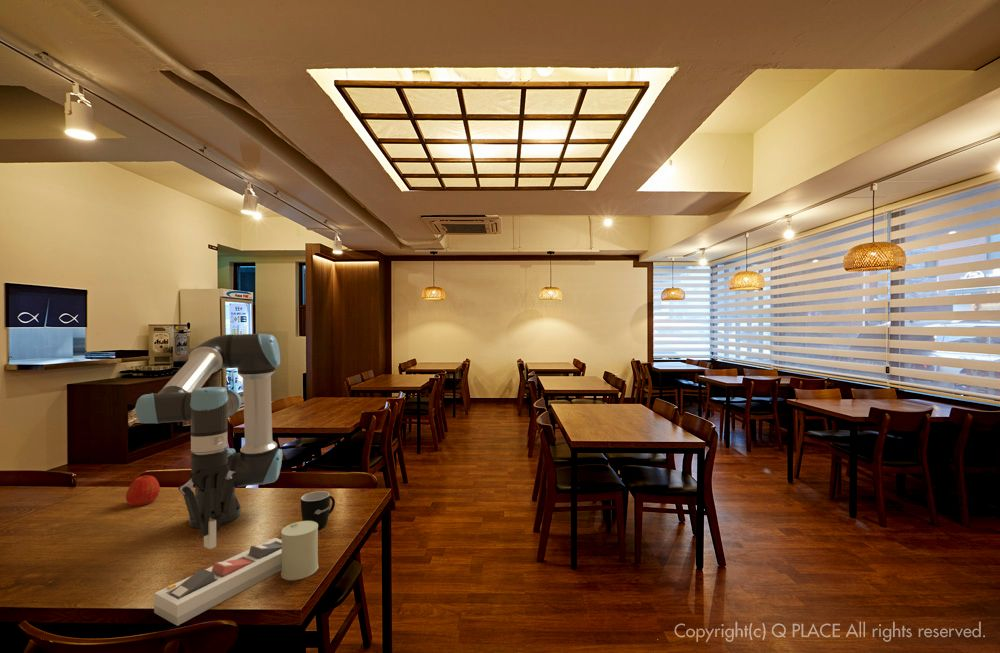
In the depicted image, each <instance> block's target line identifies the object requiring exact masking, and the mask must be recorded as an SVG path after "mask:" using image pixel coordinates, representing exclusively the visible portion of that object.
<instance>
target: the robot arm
mask: <svg viewBox="0 0 1000 653" xmlns="http://www.w3.org/2000/svg"><path fill="white" fill-rule="evenodd" d="M280 364H281V352H280V346H279V342H278V340H277V338H276V337H275V336H274V335H273V334H268V333H267V334H266V333H248V334H247V333H243V334H228V333H227V334H222V335H218V336H215V337H212V338H210V339H208V340H205V341H204V342H201V343H200V344H198V346H196V347H194V349H193V350H192V351H191V352H190V353H189V355H188V358H187V361H186V362H185V363H184V365H183V366H182V367H181V368H180V369H179V370H178V371H177V372H176V373H175V374H174V375H173V376H172V378H170V380H169V381H168V382H167V383H166V384H165V385H164V386H163V388H161V390H159V391H158V392H157V393H153V392H151V393H148V394H143V395H141V396H140V397H139V398H138V399H137V400H136V403H135V408H134V409H135V411H134V412H135V413H134V414H135V418H136V419H137V421H138V422H139V423H141V424H163V423H173V422H174V423H178V422H190V451H191V454H190V468H191V473H190V476H189V480H188V481H187V482H186V483H184V484H183V485H179V486H178V489H177V490H178V491H179V492H180V493H181V494H182V496H183V498H184V502H185V505H186V508H187V512H188V515H189V516H188V526H189V527H191V528H194V529H199V534H200V536H202V537H203V547H204V548H206V549H209V550H211V549H213V548H216V547H217V532H218V531H220V528H221V526H222V525H224V524H228V523H230V522H232V521H234V520H236V519H238V518H239V517H240V516H241V514H242V507H241V505H240V501H239V500H238V497H237V495H236V488H237V487H247V486H249V487H250V486H258V485H261V486H262V485H266V484H271V483H275V482H276V481H277V480H278V479H279V476H280V472H281V468H282V461H283V453H284V452H283V449H282V448H278V443H277V442H276V441H274V440H273V419H272V418H273V415H272V413H273V412H272V377H271V376H272V375H273V374H274V373H276V368H277V367H279V366H280ZM220 369H237V375H239V376H240V377H241V378H242V390H243V391H242V393H243V395H242V396H243V401H242V397H241V395H240V394H239V393H238V392H237V390H234V389H229V388H226V387H224V386H206V387H203V386H204V385H205V384H206V382H207V381H208V379H209V378H210V377H211V375H212V374H214V373H216V372H218V371H219V370H220ZM242 402H243V419H244V420H243V421H244V423H243V424H244V426H243V427H244V444H243V445H242V446H241V448H240V450H239V451H240V452H236V449H235V448H228V418H229V417H233V416H234V415H235V414H236V413H237V412H238V411H239V410H240V408H241V406H242Z"/></svg>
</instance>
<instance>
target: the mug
mask: <svg viewBox="0 0 1000 653" xmlns="http://www.w3.org/2000/svg"><path fill="white" fill-rule="evenodd" d="M330 504H331V505H330ZM330 506H331V507H330ZM335 506H336V501H335V498H334V497H333V496H331V493H330V492H329V491H325V490H318V491H312V492H308V493H305V494H303V495H302V496H301V497H300V510H301V518H302V521H314V522H316V523H317V524H318V530H320V529H321V530H322V529H323V528H324V527H325V526H326V525H327V524H328V521H329V516H330V514H332V512H333V510H334V509H335Z"/></svg>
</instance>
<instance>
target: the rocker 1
mask: <svg viewBox="0 0 1000 653" xmlns="http://www.w3.org/2000/svg"><path fill="white" fill-rule="evenodd" d="M190 576H191V577H190ZM190 576H189V577H190V578H189V579H187V580H186V581H185V582H183V583H182V584H181V585H179V586H178V587H177V588H175V589H174V590H173V591H171V592H170V593H169V595H170V596H172V597H174V598H176V599H180V598H182V597H184V596H186V595H188V594H190V593H192V592H194V591H196V590H198V589H201V588H203V587H205V586H207V585H208V584H209V583H211V582H212V581H213V580H214V579H215V577H214V575H213V573H212V572H210V571H207V570H205V569H204V568H201V569H199V570H198V571H197V572H195V573H193V576H192V575H190Z"/></svg>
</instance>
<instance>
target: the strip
mask: <svg viewBox="0 0 1000 653" xmlns="http://www.w3.org/2000/svg"><path fill="white" fill-rule="evenodd" d="M272 543H277V544H280V545H282V539H281V538H277V537H273V538H271V539H268V540H266V541H264V542H262V543H260V544H259V545H264V544H272ZM249 551H250V548H249V549H247V550H244V551H243V552H241V553H238V554H236V555H234V556H231V557H229V558H228V559H225V560H224V561H230V560H237V559H245V560H247V561H250V562H253V563H251V564H249V565H247V566H245V567H243V568H241V569H239V570H237V571H235V572H233V573H231V574H227V575H221V574H218V573H216V572H214V571H212V568H213V565H211V566H210V567H208V568H206V569H205V570H207V571H210V572H212V573H213V575H214V577H215V579H214V580H213V581H212V582H211V583H209V584H208V585H207V586H205V587H203V588H201V589H198V590H196V591H194V592H192V593H190V594H188V595H186V596H184V597H182V598H180V599H176V598H174V597H172V596H170V595H169V593H170V592H171V591H173V590H174V589H175V588H177V587H178V586H179V585H181V584H182V583H183V582H185V581H186V580H187V579H189V578H190V577H191V576H193V575H194V574H193V575H190V576H188V577H186V578H184V579H182V580H179V581H178V582H176V583H171V584H169V585H167V587H164V588H162V589H161V590H158V591H156V592H154V594H153V597H154V598H153V600H154V601H153V606H154V608H153V612H154V614H156V615H158V616H159V617H161V618H163V619H164V620H165V621H168V622H170V623H171V624H173V625H175V626H177V627H178V626H181V624H183V623H185V622H188V621H189V620H191V619H192V618H195V617H196V616H199V615H201V614H202V613H204V612H206V611H208V610H209V609H213V607H215V606H217V605H219V604H220V603H222V602H225V601H226V600H228V599H230V598H232V597H234V596H235V595H237V594H239V593H241V592H242V591H243V592H244V591H245V590H247V589H248V588H250V587H252V586H254V585H256V584H258V583H259V582H262V581H264V580H265V579H267V578H269V577H271V576H273V575H274V574H277V573H278V572H280V571H282V549H280V550H278V551H276V552H274V553H272V554H270V555H268V556H264V557H258V556H255V555H252V554H249Z"/></svg>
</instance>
